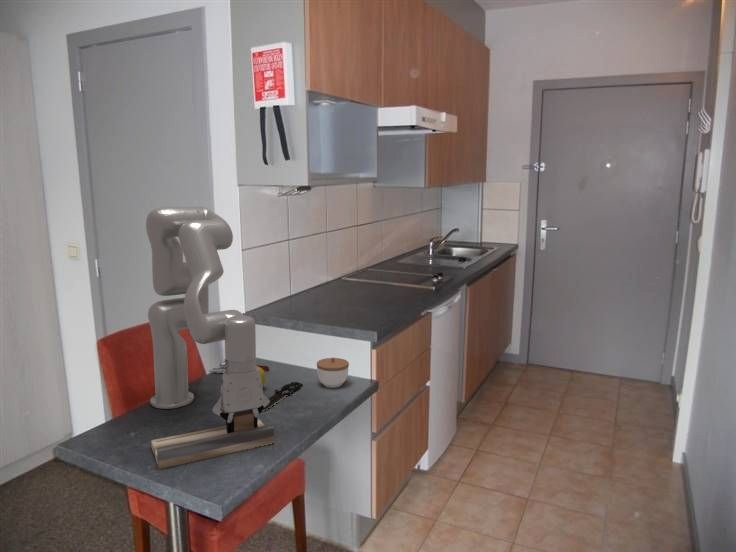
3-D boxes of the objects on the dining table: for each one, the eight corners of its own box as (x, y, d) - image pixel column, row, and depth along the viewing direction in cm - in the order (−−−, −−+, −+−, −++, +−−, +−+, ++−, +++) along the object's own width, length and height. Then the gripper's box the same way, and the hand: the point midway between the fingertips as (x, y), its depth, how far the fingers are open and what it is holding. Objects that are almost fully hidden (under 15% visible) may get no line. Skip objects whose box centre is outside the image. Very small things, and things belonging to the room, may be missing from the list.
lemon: (265, 392, 175) (264, 368, 174) (247, 393, 174) (247, 369, 173) (265, 386, 181) (265, 363, 179) (248, 386, 180) (248, 363, 179)
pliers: (217, 368, 200) (217, 361, 199) (270, 371, 197) (270, 364, 196) (203, 378, 189) (203, 371, 188) (259, 383, 186) (259, 375, 185)
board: (150, 446, 138) (150, 429, 137) (258, 424, 151) (258, 409, 151) (159, 469, 127) (158, 451, 126) (274, 443, 140) (273, 427, 140)
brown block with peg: (225, 426, 145) (225, 404, 144) (244, 422, 147) (243, 401, 146) (234, 439, 137) (234, 417, 136) (254, 435, 140) (253, 413, 139)
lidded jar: (353, 382, 186) (354, 355, 184) (339, 392, 176) (339, 364, 175) (326, 377, 190) (326, 351, 189) (310, 387, 181) (310, 360, 179)
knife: (262, 415, 159) (262, 410, 159) (244, 411, 161) (244, 406, 161) (307, 387, 181) (307, 383, 181) (291, 384, 184) (291, 380, 184)
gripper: (210, 374, 130) (212, 446, 133) (278, 364, 138) (278, 432, 141) (203, 365, 136) (205, 433, 139) (268, 356, 145) (269, 421, 147)
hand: (242, 432), depth 140 cm, fingers closed on brown block with peg, 5 cm apart
